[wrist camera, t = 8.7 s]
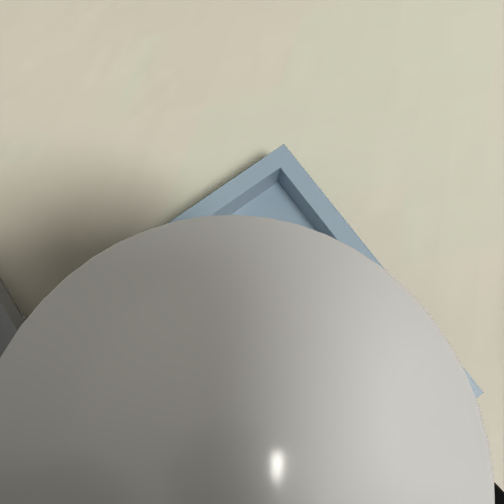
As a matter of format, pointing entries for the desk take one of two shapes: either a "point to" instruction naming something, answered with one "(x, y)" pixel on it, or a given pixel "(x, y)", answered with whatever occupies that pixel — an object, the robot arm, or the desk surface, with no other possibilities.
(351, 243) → the parts tray
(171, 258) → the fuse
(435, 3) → the desk surface
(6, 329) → the grey square socket base
